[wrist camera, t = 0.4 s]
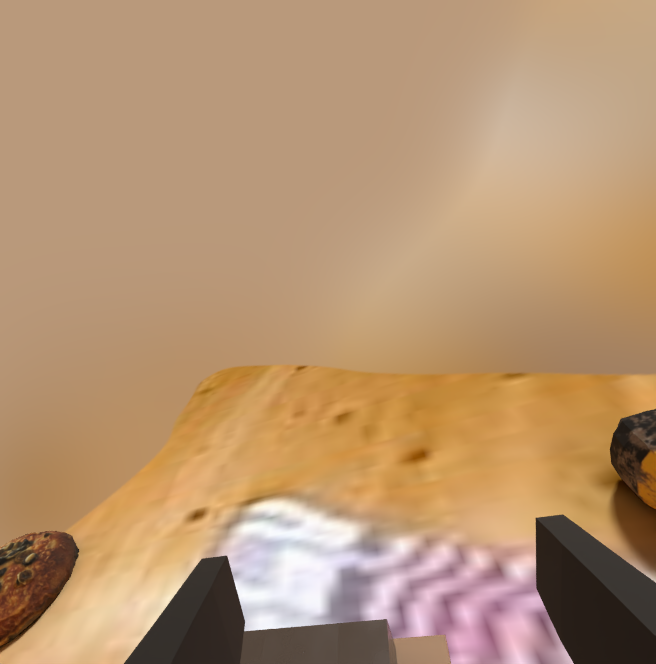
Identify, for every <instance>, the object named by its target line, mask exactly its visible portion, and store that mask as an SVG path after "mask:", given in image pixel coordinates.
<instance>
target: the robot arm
mask: <svg viewBox="0 0 656 664" xmlns="http://www.w3.org/2000/svg"><path fill="white" fill-rule="evenodd" d="M536 586H537V590H538V593H539V595H540V597H541V599H542V601H543V604H544V606H545V608H546V610H547V612H548V615H549V617H550V619H551V621H552V623H553V625H554V627H555V629H556V632H557V634H558V636H559V638H560V640H561V642H562V644H563V645H564V647H565V649H566V651H567V652H568V654H569V656H570V658H571V659H572V661H573V663H574V664H656V583H655V582H654V581H653V580H651V579H650V578H648V577H647V576H646V575H644V574H643V573H641V572H640V571H639V570H637V569H636V568H635V567H633V566H632V565H630V564H629V563H628V562H626V561H625V560H624V559H622V558H621V557H620V556H618V555H617V554H616V553H614V552H613V551H611V550H610V549H609V548H607V547H606V546H605V545H603V544H602V543H601V542H599V541H598V540H597V539H595V538H594V537H593V536H591V535H590V534H589V533H587V532H586V531H585V530H583V529H582V528H581V527H579V526H578V525H577V524H575V523H574V522H572V521H571V520H570V519H568V518H567V517H566V516H564V515H556V516H548V517H540V518H536ZM244 626H245V620H244V616H243V612H242V609H241V605H240V601H239V598H238V594H237V590H236V587H235V583H234V579H233V576H232V572H231V568H230V565H229V561H228V557H227V556H221V557H213V558H204V559H201V561H200V562H199V563H198V565H197V566H196V567H195V569H194V570H193V571H192V573H191V574H190V575H189V577H188V578H187V579H186V581H185V582H184V584H183V585H182V586H181V588H180V589H179V590H178V592H177V593H176V595H175V596H174V597H173V599H172V600H171V601H170V603H169V604H168V606H167V607H166V608H165V610H164V611H163V612H162V614H161V615H160V616H159V618H158V619H157V621H156V622H155V623H154V625H153V626H152V627H151V629H150V630H149V631H148V632H147V634H146V635H145V636H144V638H143V639H142V640H141V642H140V643H139V644H138V646H137V647H136V648H135V650H134V651H133V652H132V654H131V655H130V656H129V657H128V659H127V660H126V661H125V663H124V664H240V659H241V652H242V643H243V635H244Z"/></svg>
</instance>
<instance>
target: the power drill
mask: <svg viewBox="0 0 656 664" xmlns="http://www.w3.org/2000/svg"><path fill="white" fill-rule="evenodd" d="M610 455H611V464H612V465H613V467H614V468H615V470H616V471H617V473H618V474H619V476H620V477H621V479H622V480H623V481H624V482H625V483H626V484H627V485H628V486H629V487H630V488H631V489H632V490H633V492H634V493H635V494H636V495H637V496H638V497H639V498H640V499H641V500H642V501H643V502H644V503H646V504H647V505H649V506H651V507H652V508H654V509H656V409H654V410H650V411H645V412H642V413H639V414H635V415H632V416H629V417H625V418H622V419H620V422H619V424H618V427H617V429H616V430H615V432H614V433H613V438H612V442H611V447H610Z"/></svg>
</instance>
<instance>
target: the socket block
mask: <svg viewBox="0 0 656 664" xmlns="http://www.w3.org/2000/svg"><path fill="white" fill-rule="evenodd" d="M240 664H397V654H396V647H395V644H394V640H393V637H392V634H391V631H390V628H389V625H388V621H387V619H384V620H372V621H360V622H349V623H337V624H325V625H314V626H302V627H291V628H279V629H267V630H256V631H244V635H243V643H242V652H241V659H240Z"/></svg>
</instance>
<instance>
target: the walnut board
mask: <svg viewBox="0 0 656 664" xmlns="http://www.w3.org/2000/svg"><path fill="white" fill-rule="evenodd" d="M393 640H394V644H395V647H396V654H397V664H451V661H450V656H449V651H448V646H447V641H446V636H445V635H436V636H423V637H411V638H398V639H393Z"/></svg>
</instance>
